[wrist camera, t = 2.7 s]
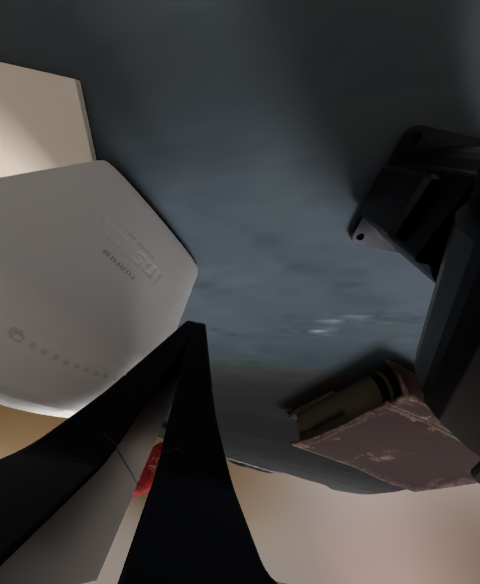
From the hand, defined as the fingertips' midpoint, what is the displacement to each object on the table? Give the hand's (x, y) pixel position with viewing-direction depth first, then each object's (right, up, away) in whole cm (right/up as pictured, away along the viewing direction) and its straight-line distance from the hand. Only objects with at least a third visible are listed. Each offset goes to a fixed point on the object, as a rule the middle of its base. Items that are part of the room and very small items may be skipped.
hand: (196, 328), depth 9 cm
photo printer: (-5, +6, +7) cm, 11 cm away
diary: (+24, -17, +21) cm, 36 cm away
